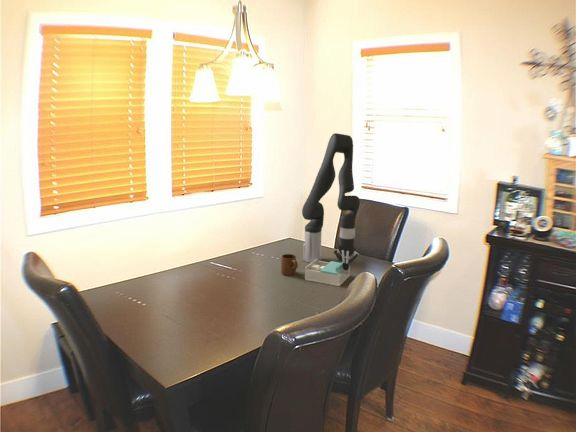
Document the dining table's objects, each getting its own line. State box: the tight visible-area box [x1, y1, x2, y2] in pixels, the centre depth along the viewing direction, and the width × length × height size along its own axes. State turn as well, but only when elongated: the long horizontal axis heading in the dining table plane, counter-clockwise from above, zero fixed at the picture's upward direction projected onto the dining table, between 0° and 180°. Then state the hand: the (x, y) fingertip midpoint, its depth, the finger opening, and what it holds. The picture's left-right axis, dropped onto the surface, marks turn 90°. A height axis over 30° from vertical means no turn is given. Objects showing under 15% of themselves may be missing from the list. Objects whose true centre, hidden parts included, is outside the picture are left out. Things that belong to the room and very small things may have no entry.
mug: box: [280, 253, 299, 277], centre depth 228 cm, size 12×8×9 cm, turn 30°
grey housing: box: [304, 259, 351, 287], centre depth 225 cm, size 18×15×6 cm
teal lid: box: [320, 260, 343, 275], centre depth 223 cm, size 8×15×3 cm, turn 154°
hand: (345, 269), depth 220 cm, fingers closed
